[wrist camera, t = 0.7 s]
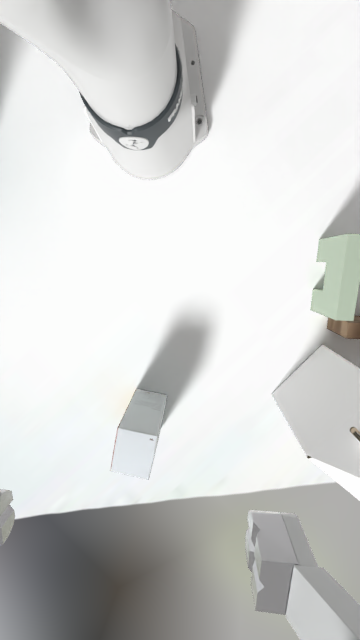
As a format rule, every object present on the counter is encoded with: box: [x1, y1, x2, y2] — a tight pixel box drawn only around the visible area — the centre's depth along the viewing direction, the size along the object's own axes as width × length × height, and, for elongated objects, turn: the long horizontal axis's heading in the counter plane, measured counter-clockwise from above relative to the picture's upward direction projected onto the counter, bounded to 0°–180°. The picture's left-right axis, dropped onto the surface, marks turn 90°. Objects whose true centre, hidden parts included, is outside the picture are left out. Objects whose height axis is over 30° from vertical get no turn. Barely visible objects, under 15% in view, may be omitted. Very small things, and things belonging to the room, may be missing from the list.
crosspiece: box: [310, 234, 360, 321], centre depth 43 cm, size 12×2×9 cm, turn 179°
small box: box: [110, 389, 167, 480], centre depth 48 cm, size 8×6×13 cm
